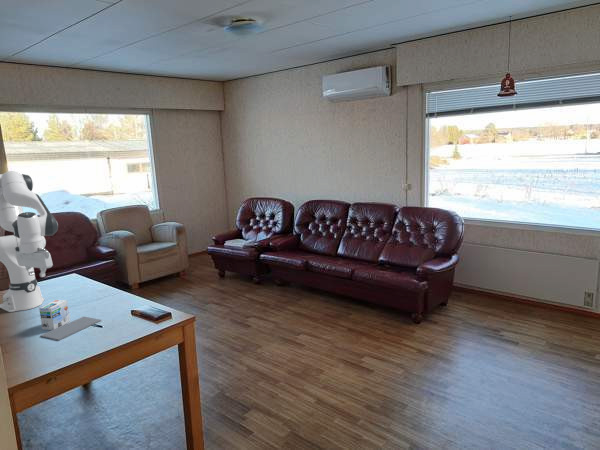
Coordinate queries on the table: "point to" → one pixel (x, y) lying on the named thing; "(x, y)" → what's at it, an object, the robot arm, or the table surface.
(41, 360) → the table surface
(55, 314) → the light bulb box
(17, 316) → the table surface
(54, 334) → the pad
